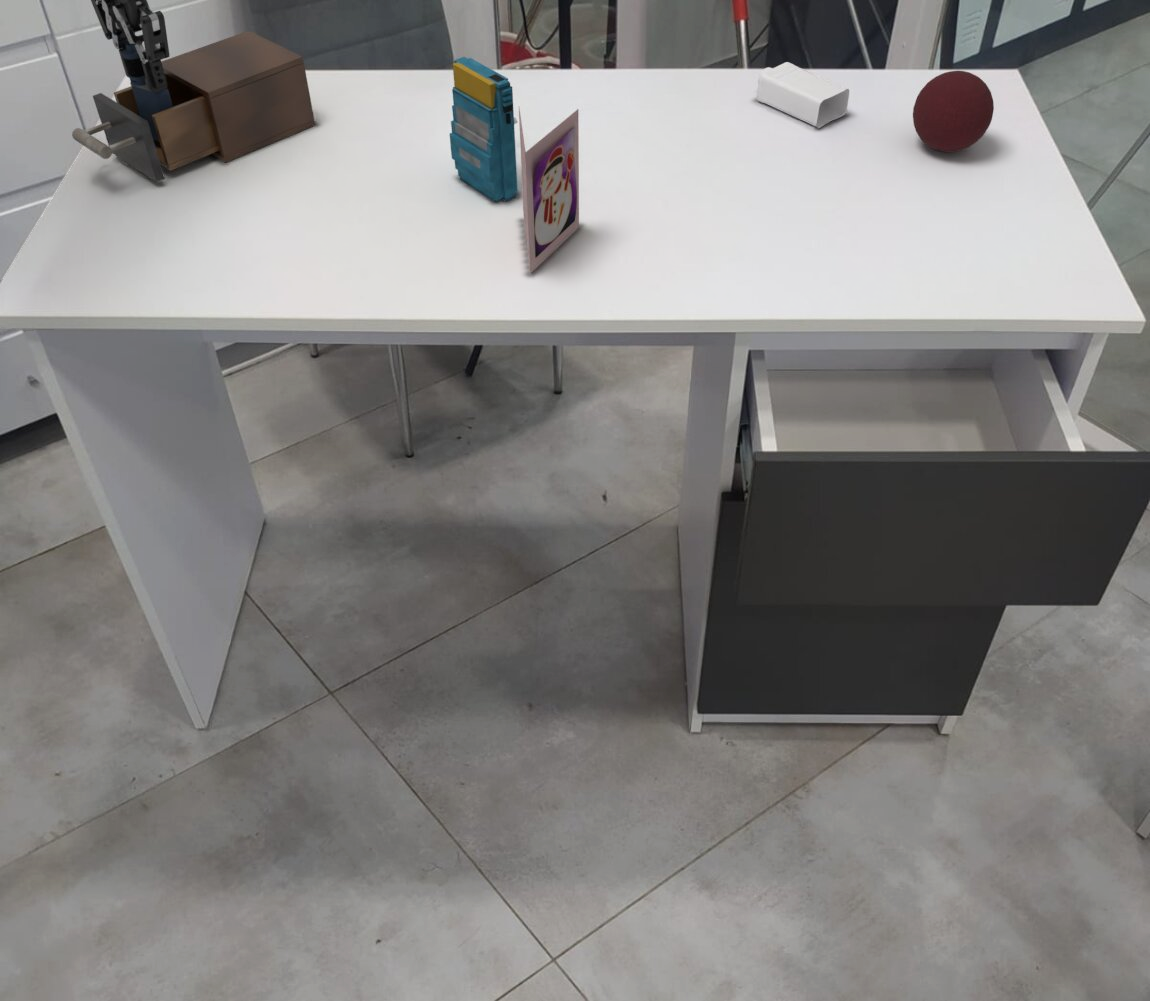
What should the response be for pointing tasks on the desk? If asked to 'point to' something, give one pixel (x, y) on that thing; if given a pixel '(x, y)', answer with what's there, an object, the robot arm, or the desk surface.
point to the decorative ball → (953, 111)
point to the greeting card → (550, 189)
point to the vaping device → (144, 89)
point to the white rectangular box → (802, 94)
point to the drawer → (130, 137)
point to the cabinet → (247, 91)
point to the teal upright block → (483, 130)
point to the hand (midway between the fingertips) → (147, 82)
